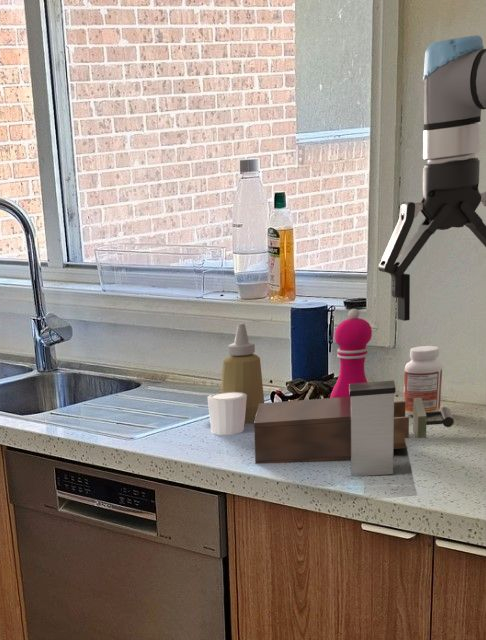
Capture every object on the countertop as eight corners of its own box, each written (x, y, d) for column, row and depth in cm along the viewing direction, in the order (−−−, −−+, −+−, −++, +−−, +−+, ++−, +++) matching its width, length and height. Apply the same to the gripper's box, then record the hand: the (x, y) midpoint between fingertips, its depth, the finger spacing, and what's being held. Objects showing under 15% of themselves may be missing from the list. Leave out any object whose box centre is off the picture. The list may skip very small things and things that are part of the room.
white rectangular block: (393, 465, 187) (394, 380, 182) (394, 474, 182) (395, 387, 177) (349, 467, 189) (349, 383, 184) (349, 477, 184) (349, 391, 179)
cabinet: (355, 438, 205) (355, 396, 202) (356, 460, 192) (356, 415, 189) (260, 444, 210) (259, 403, 207) (255, 466, 197) (253, 423, 194)
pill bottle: (414, 407, 219) (417, 344, 214) (446, 409, 214) (450, 345, 210) (395, 414, 215) (398, 350, 211) (428, 417, 211) (431, 352, 206)
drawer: (448, 427, 199) (449, 395, 197) (454, 448, 188) (456, 414, 186) (328, 435, 205) (328, 404, 203) (328, 455, 194) (328, 422, 192)
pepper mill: (329, 433, 209) (332, 313, 201) (327, 423, 216) (330, 307, 208) (373, 431, 208) (378, 310, 199) (370, 421, 214) (375, 304, 206)
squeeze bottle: (269, 418, 226) (270, 319, 219) (256, 429, 220) (256, 327, 213) (227, 417, 230) (226, 320, 223) (213, 428, 224) (212, 328, 217)
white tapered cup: (206, 439, 217) (205, 400, 214) (210, 430, 223) (209, 392, 220) (245, 438, 215) (245, 398, 212) (248, 429, 221) (248, 390, 218)
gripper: (524, 146, 177) (519, 297, 185) (355, 173, 177) (356, 322, 185) (551, 145, 170) (544, 302, 178) (374, 172, 170) (375, 328, 178)
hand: (448, 312), depth 181 cm, fingers open, 13 cm apart
